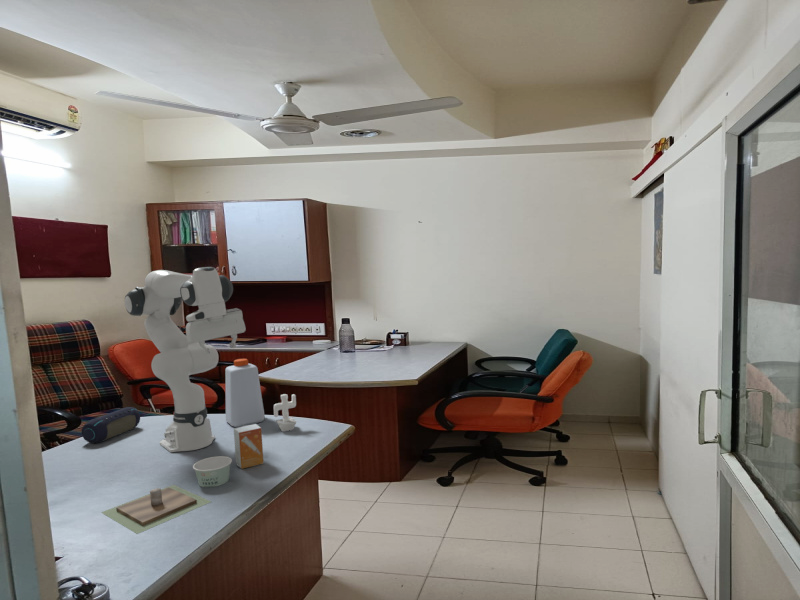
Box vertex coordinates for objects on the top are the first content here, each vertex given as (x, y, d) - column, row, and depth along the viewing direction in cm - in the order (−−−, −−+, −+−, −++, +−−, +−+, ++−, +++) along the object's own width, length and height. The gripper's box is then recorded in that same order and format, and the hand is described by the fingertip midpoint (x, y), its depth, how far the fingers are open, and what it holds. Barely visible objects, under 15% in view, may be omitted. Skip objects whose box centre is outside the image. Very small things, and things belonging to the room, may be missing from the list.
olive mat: (101, 513, 155) (101, 512, 155) (173, 486, 172) (173, 484, 172) (137, 535, 141) (137, 533, 141) (211, 502, 158) (211, 501, 158)
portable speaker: (98, 446, 215) (96, 422, 214) (79, 445, 218) (77, 421, 217) (145, 426, 239) (143, 405, 238) (128, 425, 242) (126, 404, 241)
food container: (192, 493, 166) (190, 472, 165) (196, 478, 177) (194, 459, 177) (232, 486, 169) (231, 466, 168) (234, 472, 180) (232, 453, 180)
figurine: (273, 429, 225) (271, 394, 224) (295, 425, 229) (293, 391, 228) (277, 433, 219) (274, 398, 218) (299, 429, 223) (297, 394, 222)
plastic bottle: (223, 421, 241) (218, 360, 239) (256, 414, 249) (252, 355, 247) (233, 429, 228) (228, 364, 226) (267, 421, 237) (263, 359, 234)
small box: (241, 469, 182) (238, 432, 181) (235, 464, 188) (233, 428, 187) (264, 463, 187) (261, 427, 186) (258, 458, 192) (255, 423, 191)
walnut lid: (116, 510, 155) (114, 494, 155) (169, 490, 167) (167, 475, 167) (142, 525, 145) (141, 508, 145) (196, 502, 157) (195, 486, 157)
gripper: (237, 307, 197) (244, 344, 197) (181, 317, 184) (188, 356, 184) (244, 306, 192) (251, 344, 192) (187, 316, 179) (194, 357, 180)
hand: (220, 350), depth 188 cm, fingers open, 8 cm apart
